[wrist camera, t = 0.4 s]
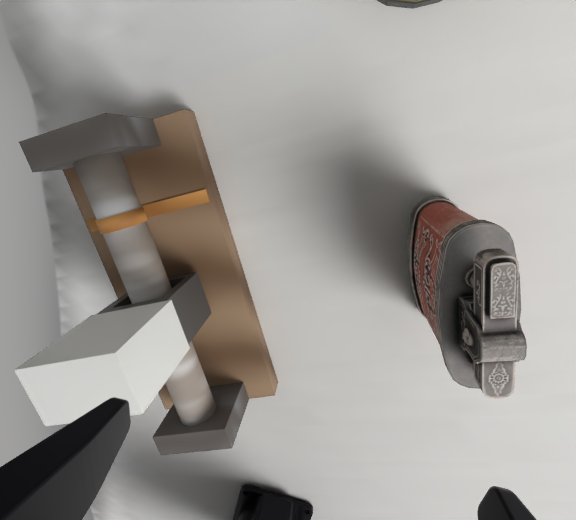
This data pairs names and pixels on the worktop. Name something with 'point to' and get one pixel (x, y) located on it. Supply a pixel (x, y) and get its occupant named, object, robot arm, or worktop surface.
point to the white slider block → (116, 354)
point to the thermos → (408, 3)
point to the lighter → (468, 293)
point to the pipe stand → (168, 258)
